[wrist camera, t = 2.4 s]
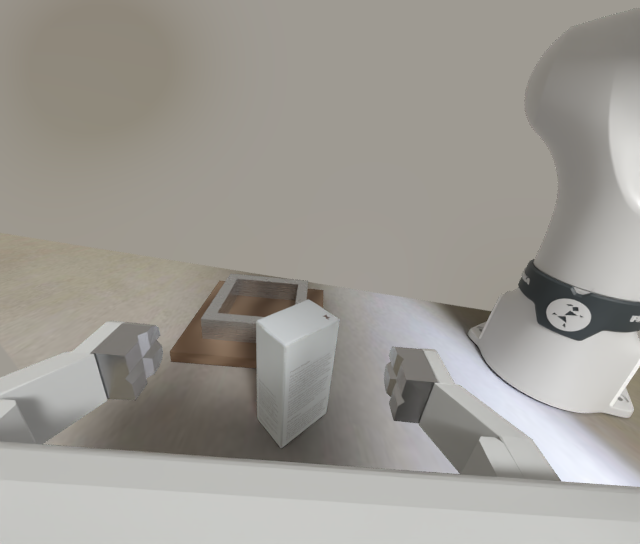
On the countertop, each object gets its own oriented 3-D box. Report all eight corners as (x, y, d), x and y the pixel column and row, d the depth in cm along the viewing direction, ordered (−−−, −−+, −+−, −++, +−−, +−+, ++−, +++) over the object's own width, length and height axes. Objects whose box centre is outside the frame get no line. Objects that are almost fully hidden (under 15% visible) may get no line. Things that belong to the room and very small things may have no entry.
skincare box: (300, 388, 32) (309, 297, 27) (327, 414, 30) (342, 318, 25) (254, 418, 28) (254, 319, 23) (279, 451, 26) (286, 347, 21)
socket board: (322, 297, 51) (324, 274, 49) (322, 373, 35) (326, 344, 33) (220, 288, 50) (218, 265, 48) (171, 361, 34) (166, 330, 32)
